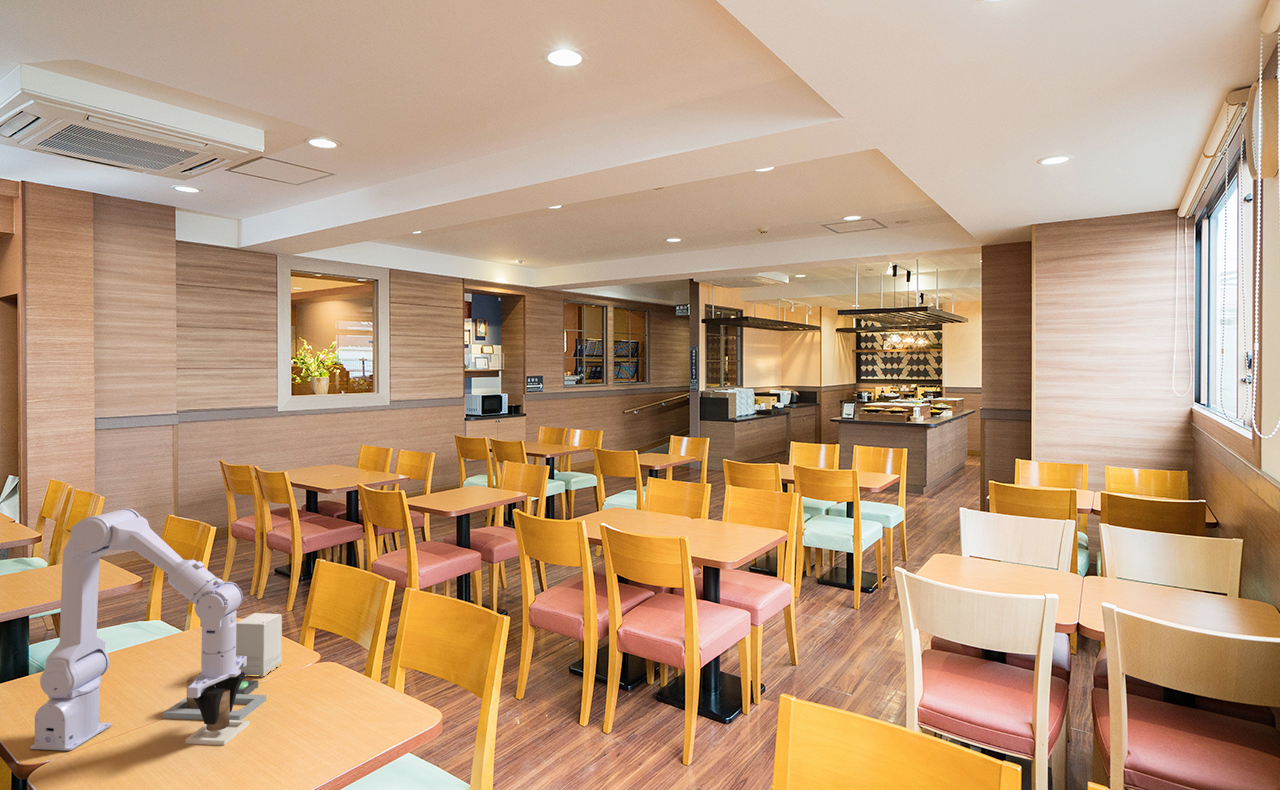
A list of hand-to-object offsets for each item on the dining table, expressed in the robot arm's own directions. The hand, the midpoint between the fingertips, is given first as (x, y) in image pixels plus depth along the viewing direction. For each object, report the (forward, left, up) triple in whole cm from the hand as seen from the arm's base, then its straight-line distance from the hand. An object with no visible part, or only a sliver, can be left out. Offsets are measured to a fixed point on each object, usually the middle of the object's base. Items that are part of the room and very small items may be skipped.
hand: (218, 717), depth 131 cm
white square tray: (0, 0, -4) cm, 4 cm away
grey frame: (+10, +7, -4) cm, 12 cm away
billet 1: (+10, +11, -4) cm, 15 cm away
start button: (+18, +7, -4) cm, 19 cm away
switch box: (+18, +7, -4) cm, 19 cm away
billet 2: (0, 0, -2) cm, 2 cm away
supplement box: (+29, +10, -4) cm, 31 cm away
